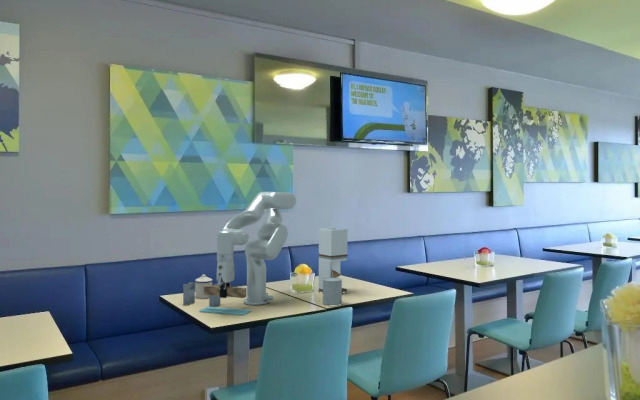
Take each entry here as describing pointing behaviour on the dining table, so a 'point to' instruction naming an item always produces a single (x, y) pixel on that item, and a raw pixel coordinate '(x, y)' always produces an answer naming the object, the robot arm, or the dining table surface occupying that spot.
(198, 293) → the teacup with lid
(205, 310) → the mat
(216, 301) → the near standard
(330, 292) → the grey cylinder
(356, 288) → the dining table surface
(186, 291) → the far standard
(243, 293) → the rail
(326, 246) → the grey tall blocky piece
